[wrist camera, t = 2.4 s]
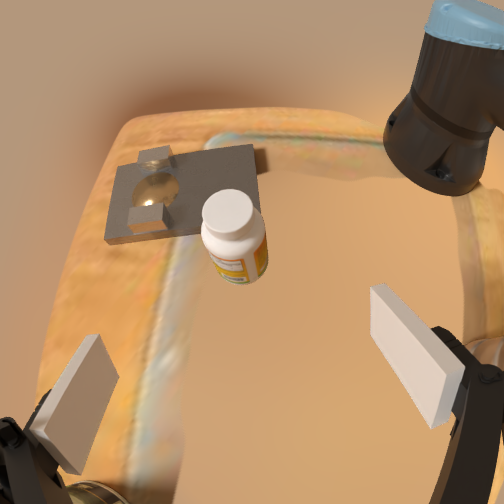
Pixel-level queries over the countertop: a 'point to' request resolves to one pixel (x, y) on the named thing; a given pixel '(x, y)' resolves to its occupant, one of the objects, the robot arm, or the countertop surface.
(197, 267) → the countertop surface
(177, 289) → the countertop surface
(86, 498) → the coffee can
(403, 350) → the robot arm
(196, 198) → the hinge plate
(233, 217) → the supplement bottle
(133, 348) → the countertop surface
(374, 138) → the countertop surface
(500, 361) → the plastic bottle
